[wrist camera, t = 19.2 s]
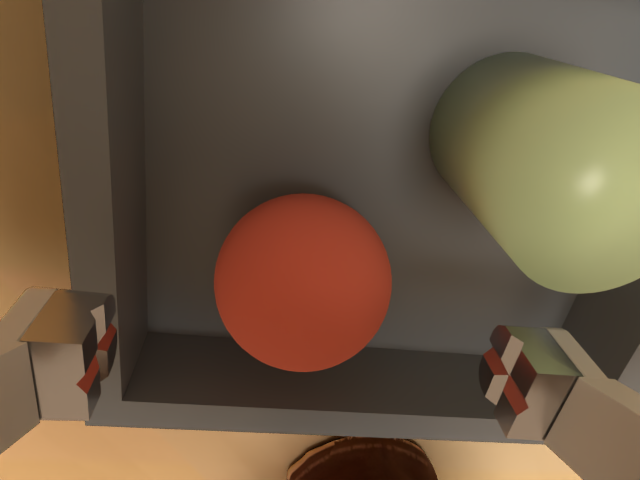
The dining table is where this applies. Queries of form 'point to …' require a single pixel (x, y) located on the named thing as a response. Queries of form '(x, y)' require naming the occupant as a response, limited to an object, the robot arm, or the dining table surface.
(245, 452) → the dining table surface
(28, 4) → the dining table surface
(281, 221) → the red ball
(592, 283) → the pale green capsule
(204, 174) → the bin
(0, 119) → the dining table surface
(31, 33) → the dining table surface
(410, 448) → the coffee cup
